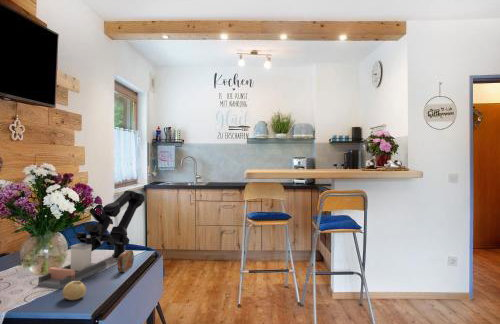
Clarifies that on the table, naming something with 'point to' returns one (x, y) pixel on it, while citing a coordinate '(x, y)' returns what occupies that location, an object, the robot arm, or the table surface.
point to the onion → (74, 290)
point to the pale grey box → (80, 256)
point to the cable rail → (57, 281)
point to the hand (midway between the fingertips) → (86, 254)
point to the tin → (125, 261)
